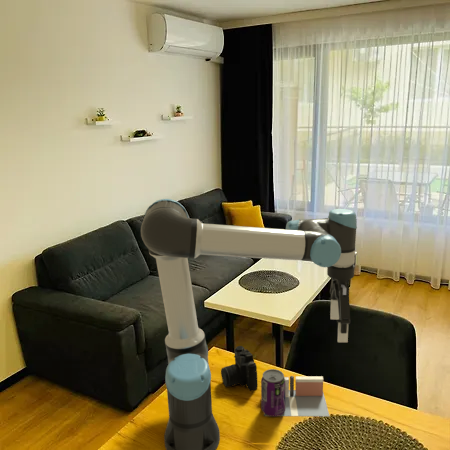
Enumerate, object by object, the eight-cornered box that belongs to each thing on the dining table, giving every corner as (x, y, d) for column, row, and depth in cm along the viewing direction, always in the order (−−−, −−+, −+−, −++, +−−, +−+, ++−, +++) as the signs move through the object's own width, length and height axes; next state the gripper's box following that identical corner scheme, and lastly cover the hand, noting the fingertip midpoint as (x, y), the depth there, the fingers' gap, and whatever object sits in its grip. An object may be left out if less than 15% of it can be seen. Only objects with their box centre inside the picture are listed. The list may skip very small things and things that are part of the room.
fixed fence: (264, 396, 136) (264, 378, 134) (264, 393, 138) (264, 375, 136) (293, 396, 136) (294, 378, 134) (293, 393, 137) (293, 375, 135)
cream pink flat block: (295, 396, 135) (296, 379, 134) (295, 393, 137) (295, 376, 135) (322, 396, 135) (323, 379, 133) (322, 393, 136) (322, 376, 135)
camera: (216, 372, 150) (215, 347, 147) (245, 366, 153) (245, 341, 150) (229, 397, 137) (228, 369, 134) (260, 390, 140) (260, 362, 137)
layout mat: (264, 416, 128) (264, 415, 128) (262, 390, 139) (262, 389, 139) (329, 417, 127) (329, 416, 127) (322, 390, 138) (322, 390, 138)
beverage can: (284, 419, 126) (284, 383, 123) (260, 417, 127) (259, 381, 124) (286, 403, 132) (286, 369, 129) (263, 401, 134) (262, 367, 131)
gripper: (364, 280, 112) (360, 352, 118) (346, 249, 136) (343, 310, 142) (334, 280, 113) (332, 352, 119) (321, 249, 137) (320, 310, 142)
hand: (338, 329), depth 130 cm, fingers open, 13 cm apart
